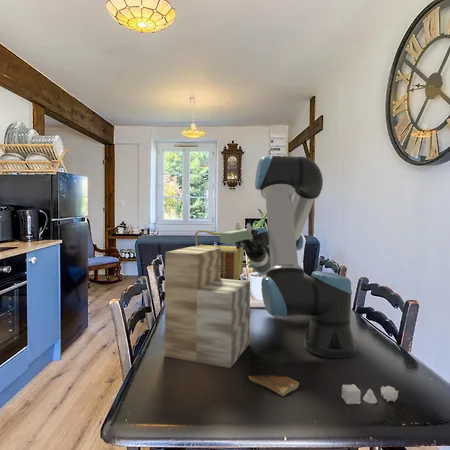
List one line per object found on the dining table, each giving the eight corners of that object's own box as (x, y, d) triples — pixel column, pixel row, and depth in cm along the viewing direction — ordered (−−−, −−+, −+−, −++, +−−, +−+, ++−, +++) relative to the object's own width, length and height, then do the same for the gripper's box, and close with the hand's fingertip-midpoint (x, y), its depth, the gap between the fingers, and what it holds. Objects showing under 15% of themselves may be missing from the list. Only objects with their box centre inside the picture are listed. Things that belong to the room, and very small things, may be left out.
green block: (245, 236, 126) (245, 228, 126) (253, 237, 125) (254, 228, 125) (220, 242, 102) (220, 232, 102) (230, 243, 101) (230, 233, 101)
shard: (247, 381, 86) (247, 374, 86) (267, 372, 91) (267, 365, 91) (281, 399, 78) (282, 391, 78) (301, 388, 83) (302, 380, 83)
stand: (191, 335, 116) (192, 246, 115) (249, 344, 109) (250, 249, 108) (164, 356, 99) (165, 252, 98) (230, 368, 92) (232, 256, 91)
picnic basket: (245, 278, 217) (246, 230, 215) (237, 286, 192) (238, 232, 190) (200, 275, 223) (201, 229, 222) (187, 283, 198) (188, 231, 197)
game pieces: (347, 406, 76) (347, 391, 75) (341, 398, 79) (341, 384, 79) (400, 404, 76) (400, 390, 76) (392, 396, 80) (392, 382, 79)
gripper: (276, 264, 132) (264, 237, 112) (235, 261, 138) (217, 235, 118) (278, 246, 135) (267, 217, 116) (239, 244, 141) (222, 216, 121)
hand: (242, 226), depth 117 cm, fingers closed on green block, 3 cm apart
